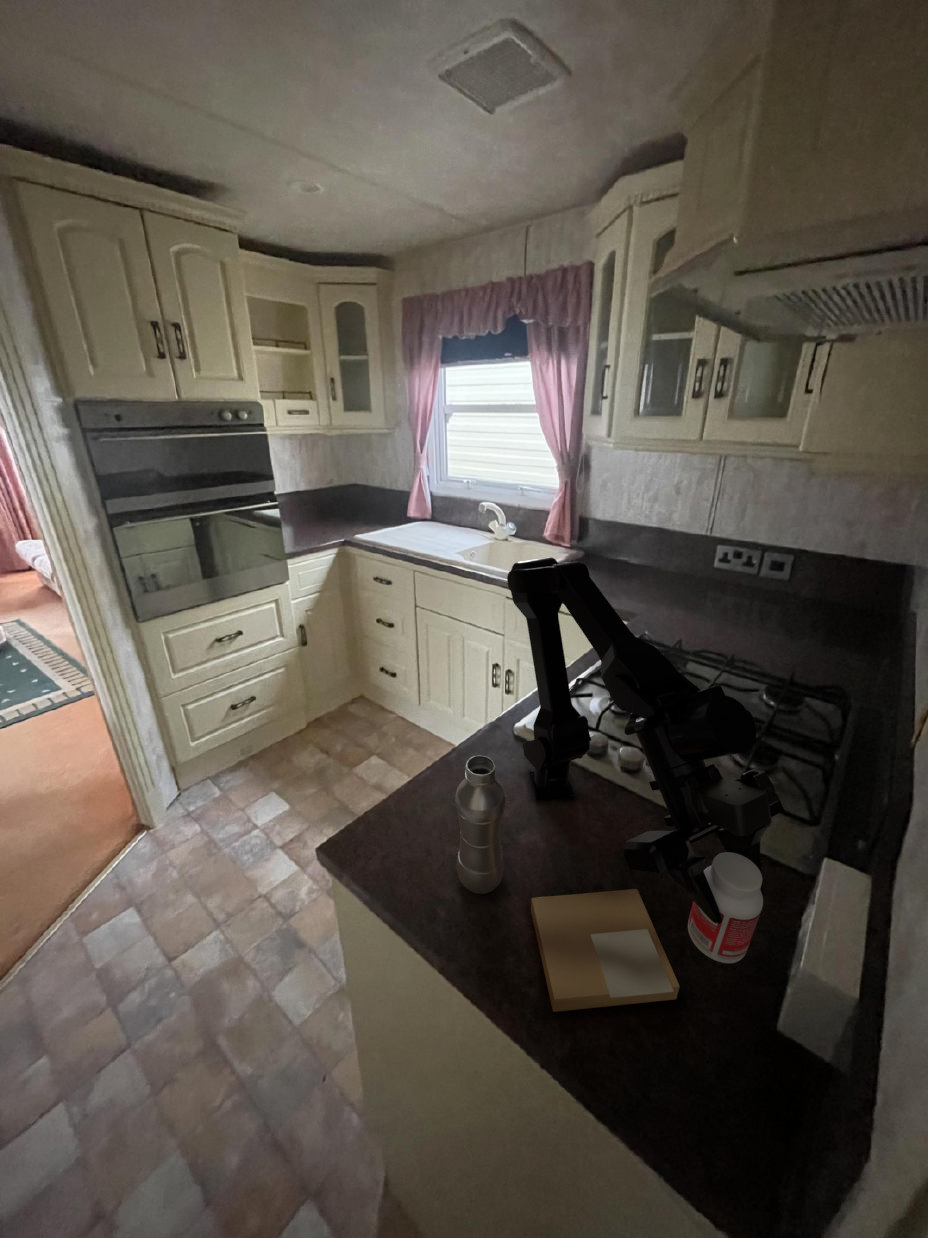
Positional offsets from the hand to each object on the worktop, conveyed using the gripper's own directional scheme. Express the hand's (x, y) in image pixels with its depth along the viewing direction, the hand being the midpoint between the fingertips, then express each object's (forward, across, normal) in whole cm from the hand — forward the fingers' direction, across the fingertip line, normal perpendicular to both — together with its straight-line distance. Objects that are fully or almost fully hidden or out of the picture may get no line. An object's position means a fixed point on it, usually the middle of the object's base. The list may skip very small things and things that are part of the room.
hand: (739, 909), depth 54 cm
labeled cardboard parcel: (+2, -10, +14) cm, 18 cm away
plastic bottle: (-8, -18, +25) cm, 32 cm away
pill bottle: (+4, 0, +6) cm, 7 cm away
